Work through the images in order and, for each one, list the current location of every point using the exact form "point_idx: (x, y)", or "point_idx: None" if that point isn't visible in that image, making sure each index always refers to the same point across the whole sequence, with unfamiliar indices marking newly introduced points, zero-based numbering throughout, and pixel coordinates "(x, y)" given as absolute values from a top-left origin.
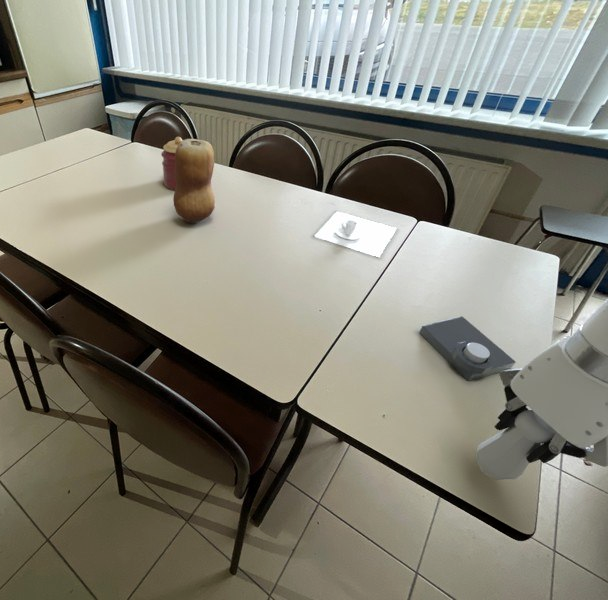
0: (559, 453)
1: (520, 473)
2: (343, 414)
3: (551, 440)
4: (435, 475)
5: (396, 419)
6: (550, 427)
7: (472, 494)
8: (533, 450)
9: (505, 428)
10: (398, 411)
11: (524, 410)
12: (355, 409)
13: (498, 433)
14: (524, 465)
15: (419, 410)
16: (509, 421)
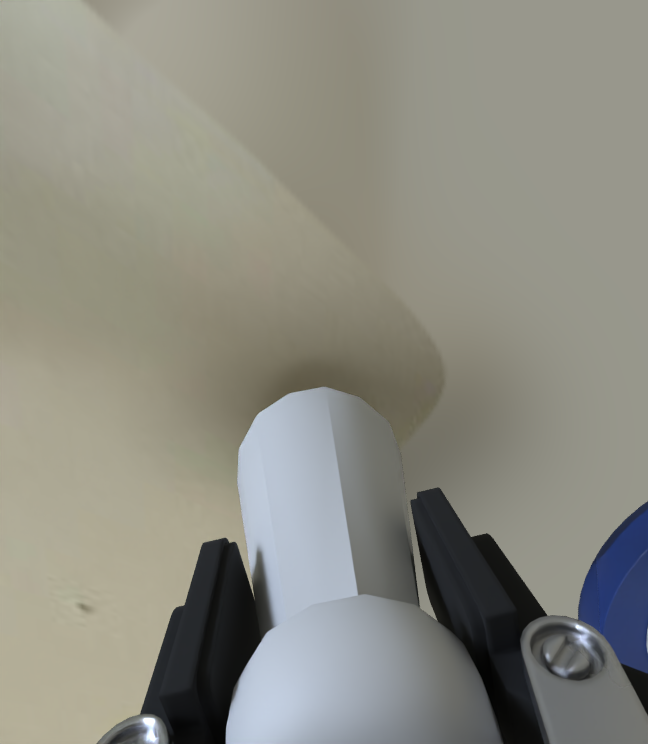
0: (528, 592)
1: (398, 453)
2: (87, 714)
3: (495, 716)
4: None
5: (97, 574)
6: None
7: None
8: (415, 579)
9: (252, 595)
10: (62, 557)
11: (205, 739)
12: (64, 680)
13: (246, 539)
14: (406, 499)
15: (51, 485)
16: None
